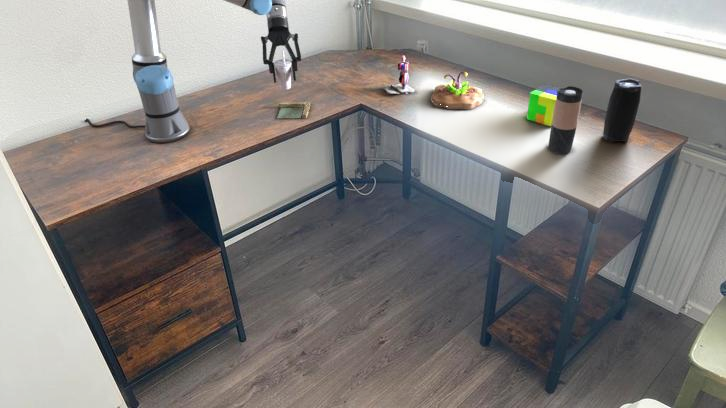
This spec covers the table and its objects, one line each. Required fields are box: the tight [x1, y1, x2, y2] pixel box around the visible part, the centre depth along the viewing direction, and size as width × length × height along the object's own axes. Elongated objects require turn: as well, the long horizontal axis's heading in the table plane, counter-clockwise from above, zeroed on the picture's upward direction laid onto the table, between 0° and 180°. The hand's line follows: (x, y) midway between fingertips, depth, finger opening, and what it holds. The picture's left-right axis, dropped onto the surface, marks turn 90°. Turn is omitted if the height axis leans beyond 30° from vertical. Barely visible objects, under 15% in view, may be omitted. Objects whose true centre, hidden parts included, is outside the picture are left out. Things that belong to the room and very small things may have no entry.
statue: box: [381, 55, 416, 95], centre depth 220 cm, size 11×9×15 cm
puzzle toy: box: [526, 84, 560, 127], centre depth 195 cm, size 10×10×10 cm
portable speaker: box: [602, 77, 643, 144], centre depth 178 cm, size 9×9×20 cm
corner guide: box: [276, 101, 311, 120], centre depth 209 cm, size 12×12×2 cm
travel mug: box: [548, 85, 584, 155], centre depth 174 cm, size 8×8×20 cm
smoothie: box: [273, 49, 292, 91], centre depth 199 cm, size 6×6×14 cm
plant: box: [430, 71, 485, 110], centre depth 212 cm, size 20×20×11 cm
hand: (284, 79), depth 198 cm, fingers closed on smoothie, 6 cm apart
